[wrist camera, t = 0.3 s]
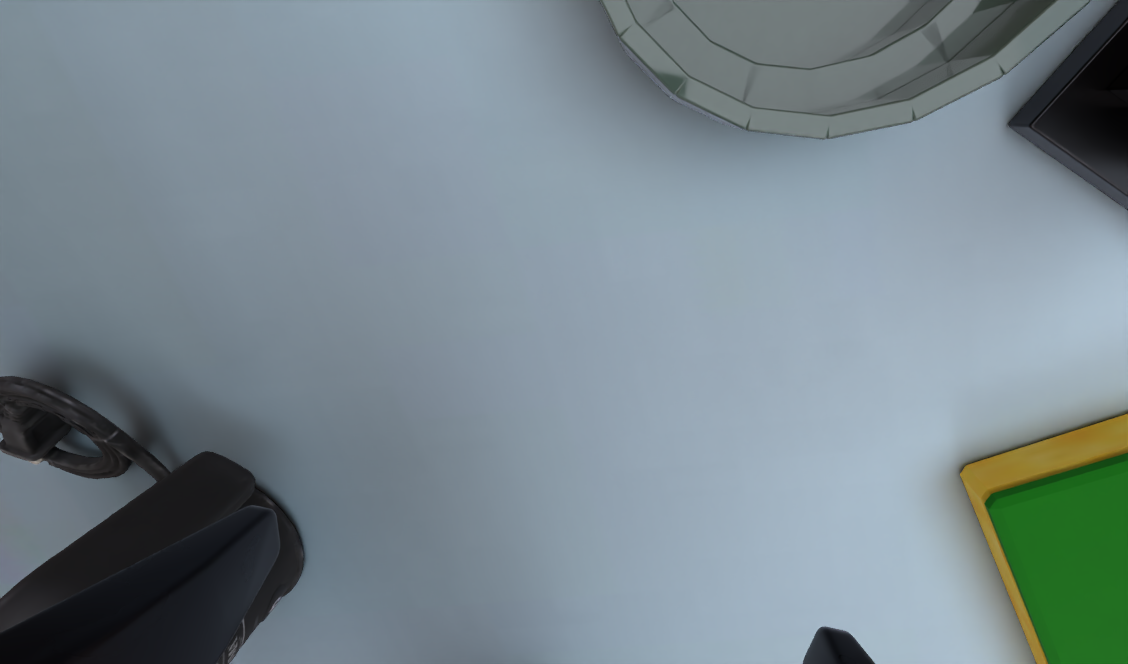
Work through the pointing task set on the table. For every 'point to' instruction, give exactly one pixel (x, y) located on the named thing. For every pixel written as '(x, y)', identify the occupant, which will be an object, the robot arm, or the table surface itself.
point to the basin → (829, 56)
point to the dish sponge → (1062, 539)
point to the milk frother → (129, 505)
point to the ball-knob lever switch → (1087, 108)
